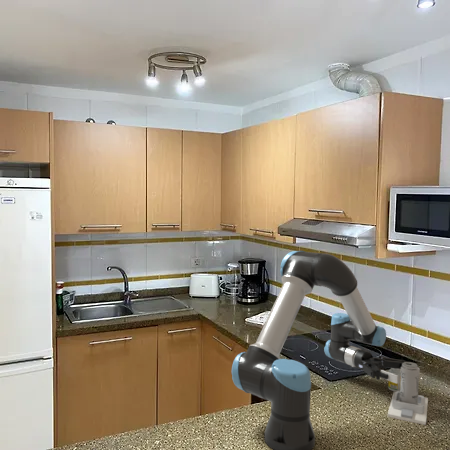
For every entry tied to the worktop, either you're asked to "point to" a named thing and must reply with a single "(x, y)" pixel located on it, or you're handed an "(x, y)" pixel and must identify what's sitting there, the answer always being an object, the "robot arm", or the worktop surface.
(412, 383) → the energy drink can
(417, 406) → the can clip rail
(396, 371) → the supplement bottle
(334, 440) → the worktop surface
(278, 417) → the robot arm
